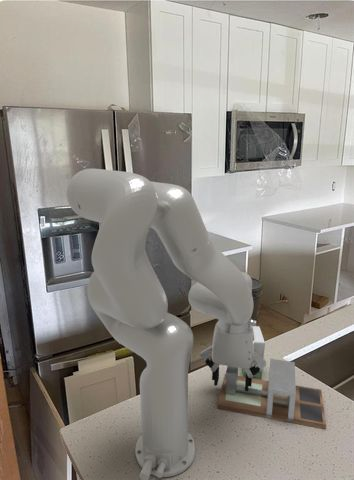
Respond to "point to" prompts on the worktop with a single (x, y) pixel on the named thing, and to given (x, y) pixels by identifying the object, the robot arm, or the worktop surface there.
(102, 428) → the worktop surface
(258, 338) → the ink box
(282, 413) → the board
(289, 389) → the tunnel
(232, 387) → the grey dumbbell
